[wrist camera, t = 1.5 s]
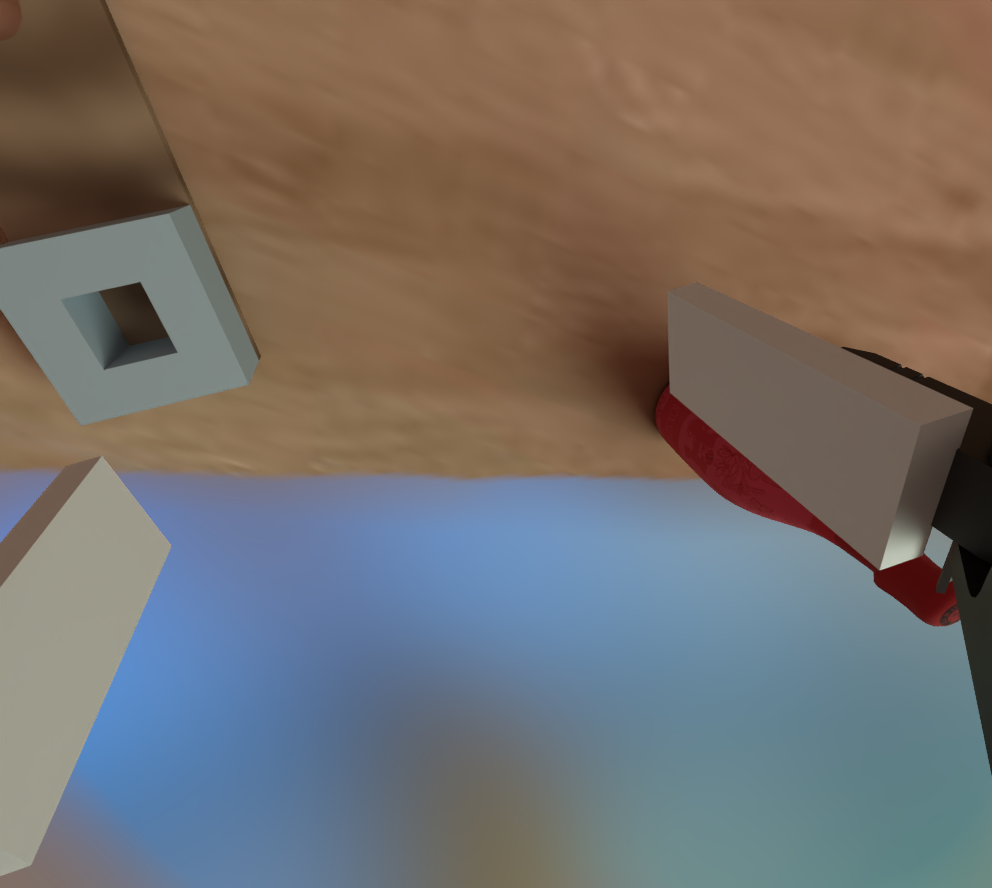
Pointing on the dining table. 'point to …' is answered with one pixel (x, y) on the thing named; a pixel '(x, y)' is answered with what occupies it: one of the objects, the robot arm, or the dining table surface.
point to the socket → (93, 330)
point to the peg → (9, 18)
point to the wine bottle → (792, 508)
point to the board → (83, 141)
